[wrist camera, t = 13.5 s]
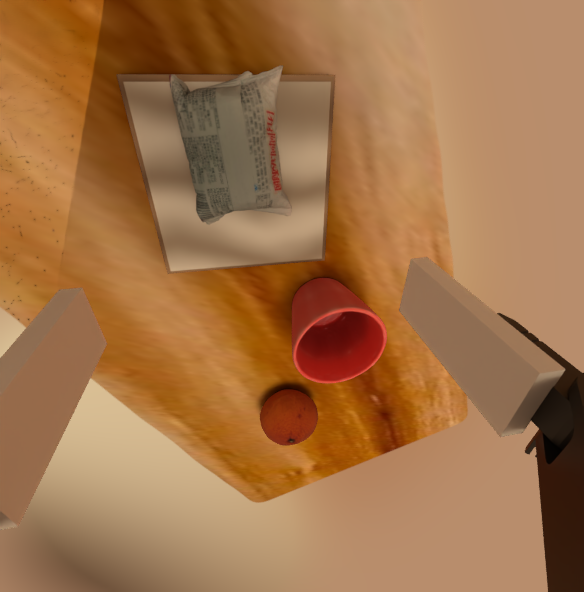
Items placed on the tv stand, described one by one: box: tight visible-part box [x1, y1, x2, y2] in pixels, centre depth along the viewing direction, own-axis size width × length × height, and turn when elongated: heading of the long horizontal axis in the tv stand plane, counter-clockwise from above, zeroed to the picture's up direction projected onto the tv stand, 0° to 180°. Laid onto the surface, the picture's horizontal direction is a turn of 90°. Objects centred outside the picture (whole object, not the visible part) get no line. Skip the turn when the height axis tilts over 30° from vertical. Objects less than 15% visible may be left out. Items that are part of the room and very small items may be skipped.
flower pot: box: [292, 278, 387, 383], centre depth 38 cm, size 11×11×10 cm
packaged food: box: [169, 66, 292, 225], centre depth 26 cm, size 9×12×5 cm
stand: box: [116, 74, 335, 274], centre depth 31 cm, size 18×18×2 cm
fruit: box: [260, 389, 318, 445], centre depth 48 cm, size 9×9×8 cm
